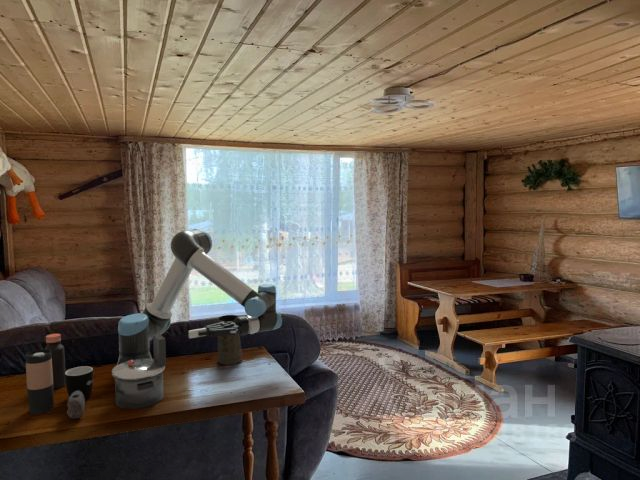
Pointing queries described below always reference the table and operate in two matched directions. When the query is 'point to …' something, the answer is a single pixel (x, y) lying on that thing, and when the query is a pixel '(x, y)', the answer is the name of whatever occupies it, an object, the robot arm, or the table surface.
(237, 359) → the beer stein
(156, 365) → the lid
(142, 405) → the cooker pot
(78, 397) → the perforated stone tool
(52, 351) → the bottle
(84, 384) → the mug
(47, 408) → the travel mug
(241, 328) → the robot arm
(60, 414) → the table surface
